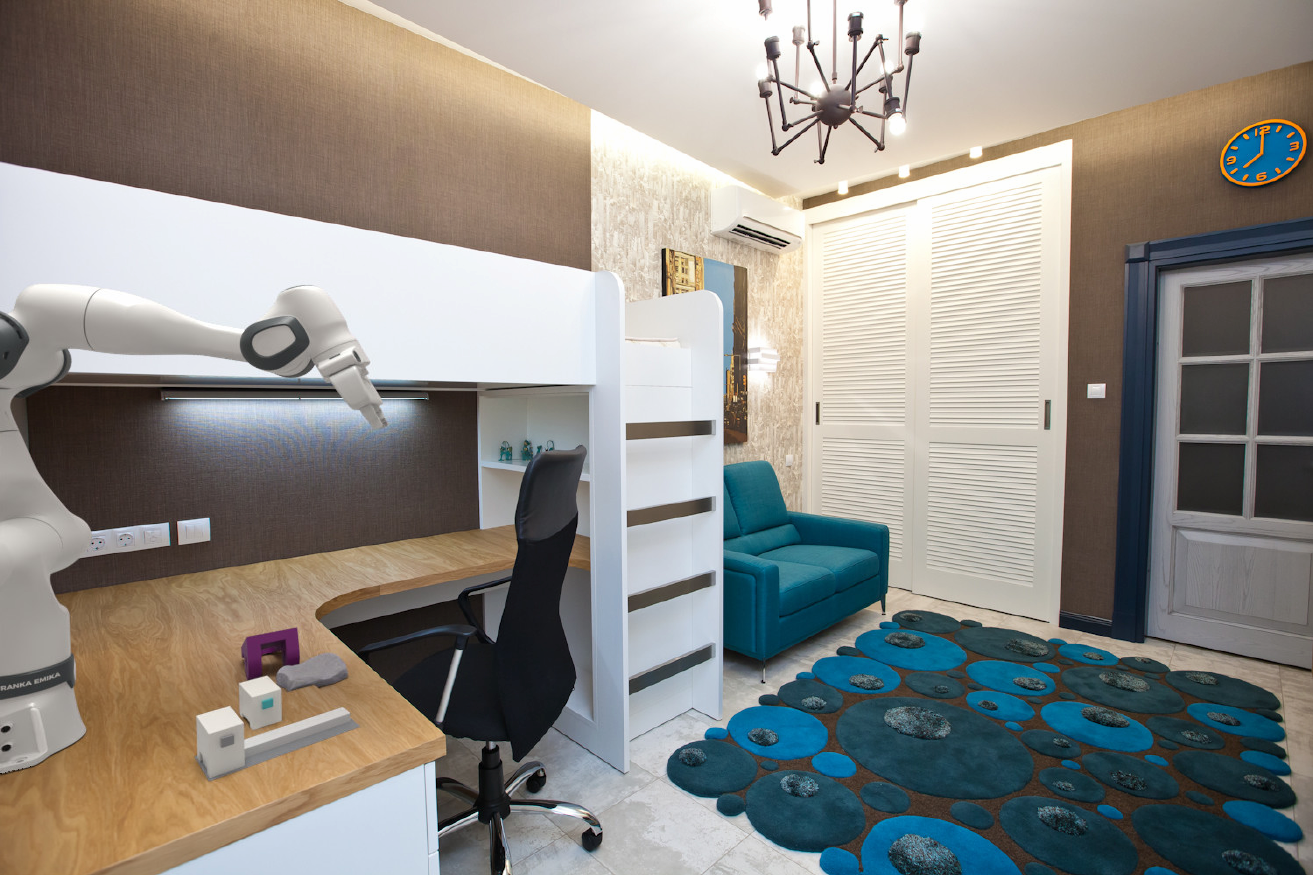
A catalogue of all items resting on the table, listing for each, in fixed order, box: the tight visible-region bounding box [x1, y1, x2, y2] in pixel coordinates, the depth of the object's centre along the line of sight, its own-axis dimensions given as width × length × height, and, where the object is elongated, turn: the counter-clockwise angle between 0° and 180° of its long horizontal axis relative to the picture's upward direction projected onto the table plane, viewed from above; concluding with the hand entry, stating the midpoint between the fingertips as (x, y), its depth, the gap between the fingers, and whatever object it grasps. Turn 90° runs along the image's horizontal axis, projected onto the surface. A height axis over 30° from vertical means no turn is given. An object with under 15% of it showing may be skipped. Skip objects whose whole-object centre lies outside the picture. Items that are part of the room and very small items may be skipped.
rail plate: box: [193, 706, 361, 782], centre depth 103 cm, size 22×10×2 cm, turn 137°
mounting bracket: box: [240, 626, 301, 681], centre depth 136 cm, size 10×8×18 cm
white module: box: [238, 675, 283, 731], centre depth 110 cm, size 4×9×7 cm, turn 48°
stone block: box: [275, 652, 349, 693], centre depth 129 cm, size 12×5×10 cm
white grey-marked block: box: [195, 705, 245, 778], centre depth 96 cm, size 4×9×7 cm, turn 47°
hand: (382, 427), depth 119 cm, fingers open, 8 cm apart
